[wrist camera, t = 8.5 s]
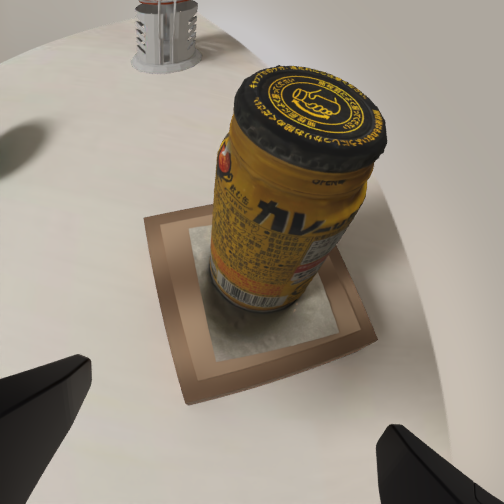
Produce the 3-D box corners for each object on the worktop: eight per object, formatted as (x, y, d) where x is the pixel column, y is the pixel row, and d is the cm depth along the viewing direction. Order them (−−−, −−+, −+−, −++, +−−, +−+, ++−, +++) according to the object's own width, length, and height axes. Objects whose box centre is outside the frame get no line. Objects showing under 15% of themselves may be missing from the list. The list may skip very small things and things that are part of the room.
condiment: (295, 215, 22) (357, 60, 12) (338, 333, 18) (475, 217, 8) (188, 230, 20) (185, 54, 10) (215, 363, 17) (235, 255, 6)
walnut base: (358, 350, 21) (379, 338, 18) (188, 405, 18) (185, 403, 15) (298, 212, 26) (308, 186, 24) (149, 241, 23) (143, 215, 20)
